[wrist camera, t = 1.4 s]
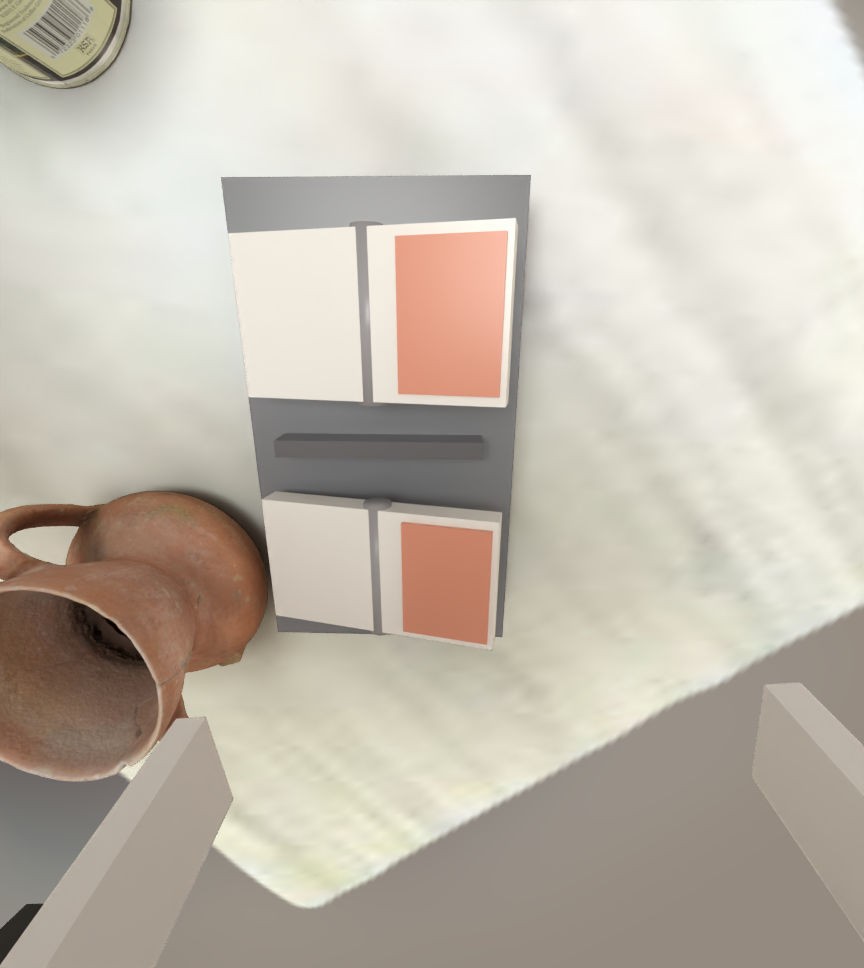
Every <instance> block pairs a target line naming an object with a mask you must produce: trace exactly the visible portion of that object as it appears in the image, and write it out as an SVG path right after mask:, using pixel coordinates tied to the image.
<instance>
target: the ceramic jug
mask: <svg viewBox="0 0 864 968" xmlns="http://www.w3.org/2000/svg"><path fill="white" fill-rule="evenodd" d="M43 526H78V527H79V529H78V531H77V533H76V535H75V537H74V538H73V540H72V542H71V545H70V548H69V551H68V554H67V559H66V565H56V564H52V563H50V562H44V561H41V560H39V559H35V558H33V557H30V556H29V555H27V554H25V553H23V552H21V551H20V550H18V549H17V548H16V547H15V546H14V545H13V544H12V543H10V541H9V540H8V538H9V536H11V535H12V534H13V533H16V532H17V531H20V530H23V529H27V528H35V527H43ZM0 579H3V580H5V581H3V582H0V760H1V761H2V762H6V763H9V764H11V765H12V766H14V767H15V768H18V769H20V770H22V771H25V772H28V773H31V774H36V775H39V776H43V777H47V778H52V779H56V780H64V781H91V780H98V779H103V778H106V777H110V776H113V775H115V774H117V773H118V772H119V771H121V770H122V769H123V768H124V767H125V766H126V765H129V766H133V765H135V764H136V763H137V762H139V761H140V760H141V759H143V758H144V757H145V756H146V755H147V754H148V753H149V752H150V750H151V749H152V748H153V747H154V745H155V744H156V743H157V741H158V740H159V741H161V739H162V738H163V736H164V735H165V734H166V732H167V731H168V729H169V728H170V727H171V725H172V724H173V722H174V721H175V720H176V719H181V718H189V717H188V716H187V714H186V711H185V707H184V702H183V698H182V695H181V692H182V689H183V684H184V677H185V673H186V672H193V671H198V670H202V669H206V668H209V667H212V666H215V665H221V666H226V665H228V664H234V663H237V662H239V661H240V660H241V657H242V654H243V651H244V649H245V647H246V645H247V643H248V642H249V641H250V640H251V638H252V637H253V636H254V634H255V633H256V631H257V629H258V627H259V625H260V623H261V621H262V619H263V616H264V613H265V609H266V604H267V595H268V583H267V576H266V571H265V567H264V564H263V561H262V558H261V556H260V554H259V551H258V549H257V548H256V546H255V544H254V542H253V541H252V539H251V538H250V537H249V535H248V534H247V533H246V532H245V531H244V530H243V528H242V527H241V526H240V525H239V524H238V523H237V522H235V521H234V520H233V519H232V518H231V517H230V516H228V515H227V514H225V513H224V512H223V511H221V510H220V509H218V508H216V507H215V506H213V505H211V504H209V503H207V502H205V501H203V500H200V499H198V498H195V497H192V496H188V495H185V494H181V493H175V492H167V491H145V492H139V493H134V494H130V495H126V496H123V497H120V498H118V499H116V500H113V501H111V502H109V503H107V504H99V505H95V506H79V505H73V504H67V505H65V504H39V505H26V506H20V507H16V508H12V509H8V510H5V511H3V512H0Z"/></svg>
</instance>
